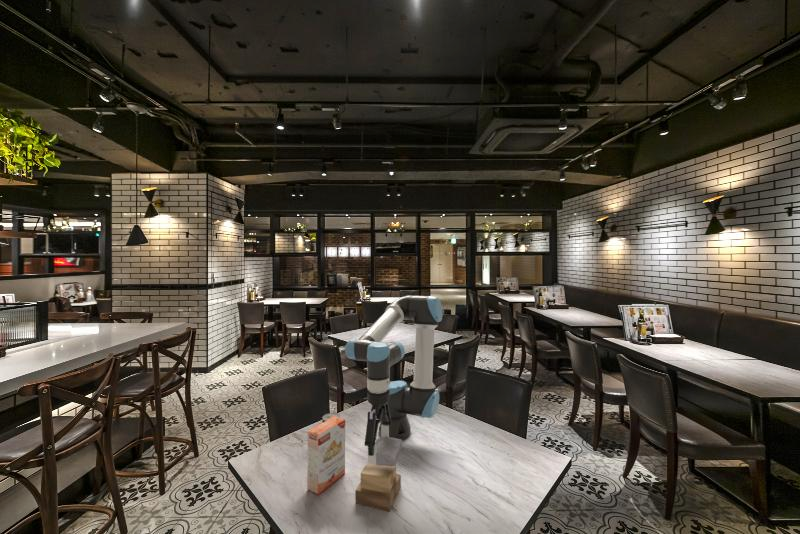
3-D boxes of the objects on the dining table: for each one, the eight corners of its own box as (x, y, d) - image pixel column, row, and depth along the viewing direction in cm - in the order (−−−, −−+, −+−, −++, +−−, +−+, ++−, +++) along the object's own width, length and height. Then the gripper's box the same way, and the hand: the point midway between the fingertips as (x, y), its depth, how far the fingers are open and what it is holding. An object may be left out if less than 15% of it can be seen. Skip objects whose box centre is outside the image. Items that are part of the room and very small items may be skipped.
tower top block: (369, 473, 117) (369, 459, 116) (396, 477, 114) (395, 463, 114) (360, 488, 109) (360, 473, 109) (389, 493, 106) (389, 478, 106)
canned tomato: (343, 437, 150) (342, 413, 150) (336, 446, 142) (336, 421, 142) (326, 435, 151) (326, 412, 151) (319, 445, 143) (319, 420, 143)
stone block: (368, 469, 105) (398, 466, 104) (365, 454, 106) (395, 451, 104) (377, 450, 117) (404, 447, 115) (375, 437, 117) (401, 433, 116)
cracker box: (319, 496, 112) (318, 435, 111) (306, 489, 115) (306, 430, 115) (346, 473, 123) (345, 418, 123) (334, 468, 127) (334, 414, 126)
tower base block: (369, 482, 119) (369, 468, 119) (400, 488, 116) (400, 474, 116) (355, 505, 108) (355, 490, 108) (389, 513, 104) (389, 497, 104)
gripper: (376, 405, 98) (376, 477, 98) (399, 378, 121) (399, 436, 121) (353, 402, 100) (353, 472, 101) (380, 376, 123) (380, 434, 124)
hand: (378, 453), depth 111 cm, fingers closed on stone block, 12 cm apart
